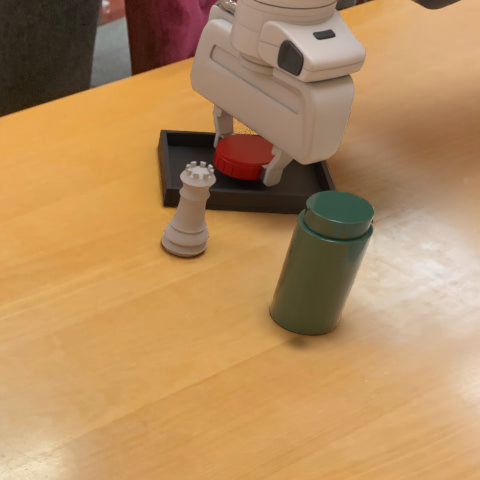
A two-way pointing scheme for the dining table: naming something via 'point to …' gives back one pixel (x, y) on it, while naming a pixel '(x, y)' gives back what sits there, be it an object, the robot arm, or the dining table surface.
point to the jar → (322, 262)
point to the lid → (242, 155)
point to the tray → (233, 189)
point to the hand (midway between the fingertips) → (245, 166)
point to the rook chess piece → (190, 213)
